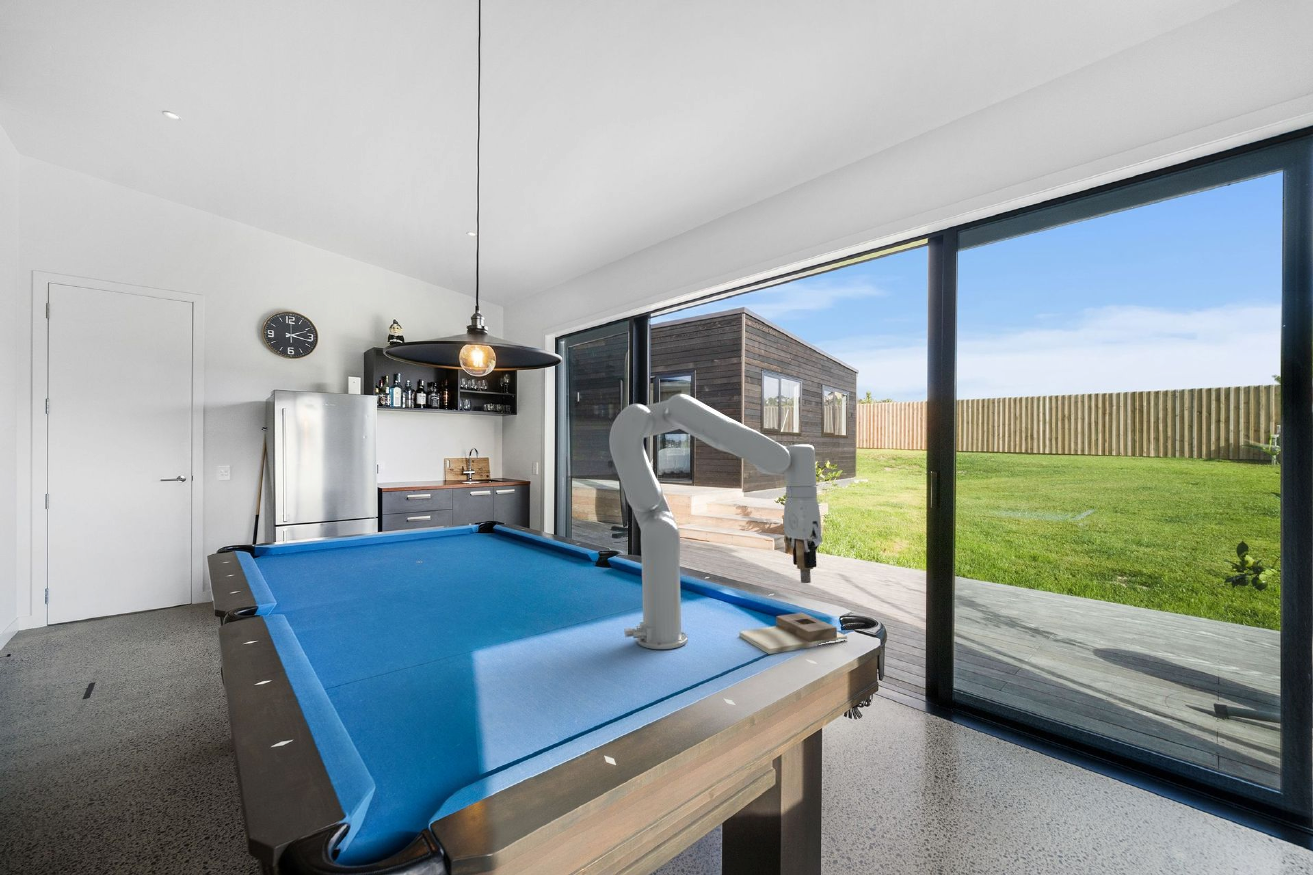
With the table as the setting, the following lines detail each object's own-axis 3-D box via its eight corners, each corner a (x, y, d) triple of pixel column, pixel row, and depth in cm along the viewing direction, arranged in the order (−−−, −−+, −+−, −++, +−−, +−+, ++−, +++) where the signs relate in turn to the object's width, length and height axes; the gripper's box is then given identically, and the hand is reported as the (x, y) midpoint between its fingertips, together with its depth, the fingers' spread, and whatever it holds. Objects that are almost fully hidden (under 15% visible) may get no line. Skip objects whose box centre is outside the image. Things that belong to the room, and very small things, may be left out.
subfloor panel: (769, 654, 127) (768, 637, 127) (739, 636, 140) (739, 621, 140) (847, 640, 135) (846, 625, 135) (812, 625, 148) (811, 611, 148)
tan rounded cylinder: (803, 584, 137) (801, 541, 137) (794, 581, 141) (792, 539, 141) (817, 582, 138) (815, 540, 139) (807, 579, 142) (805, 538, 142)
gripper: (770, 492, 147) (773, 561, 146) (809, 495, 131) (812, 573, 130) (794, 490, 149) (797, 559, 149) (835, 493, 134) (838, 570, 133)
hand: (804, 565), depth 140 cm, fingers closed on tan rounded cylinder, 4 cm apart
